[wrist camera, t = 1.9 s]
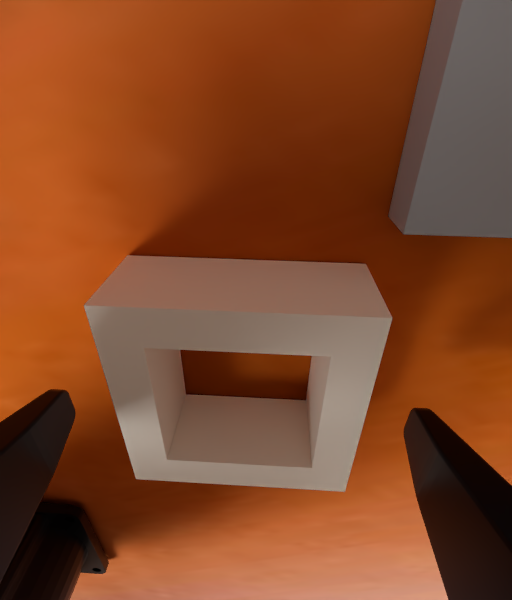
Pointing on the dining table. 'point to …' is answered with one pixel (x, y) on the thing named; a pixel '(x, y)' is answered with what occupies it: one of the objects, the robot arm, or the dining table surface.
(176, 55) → the dining table surface
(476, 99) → the post stand
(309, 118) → the dining table surface
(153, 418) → the white square frame
